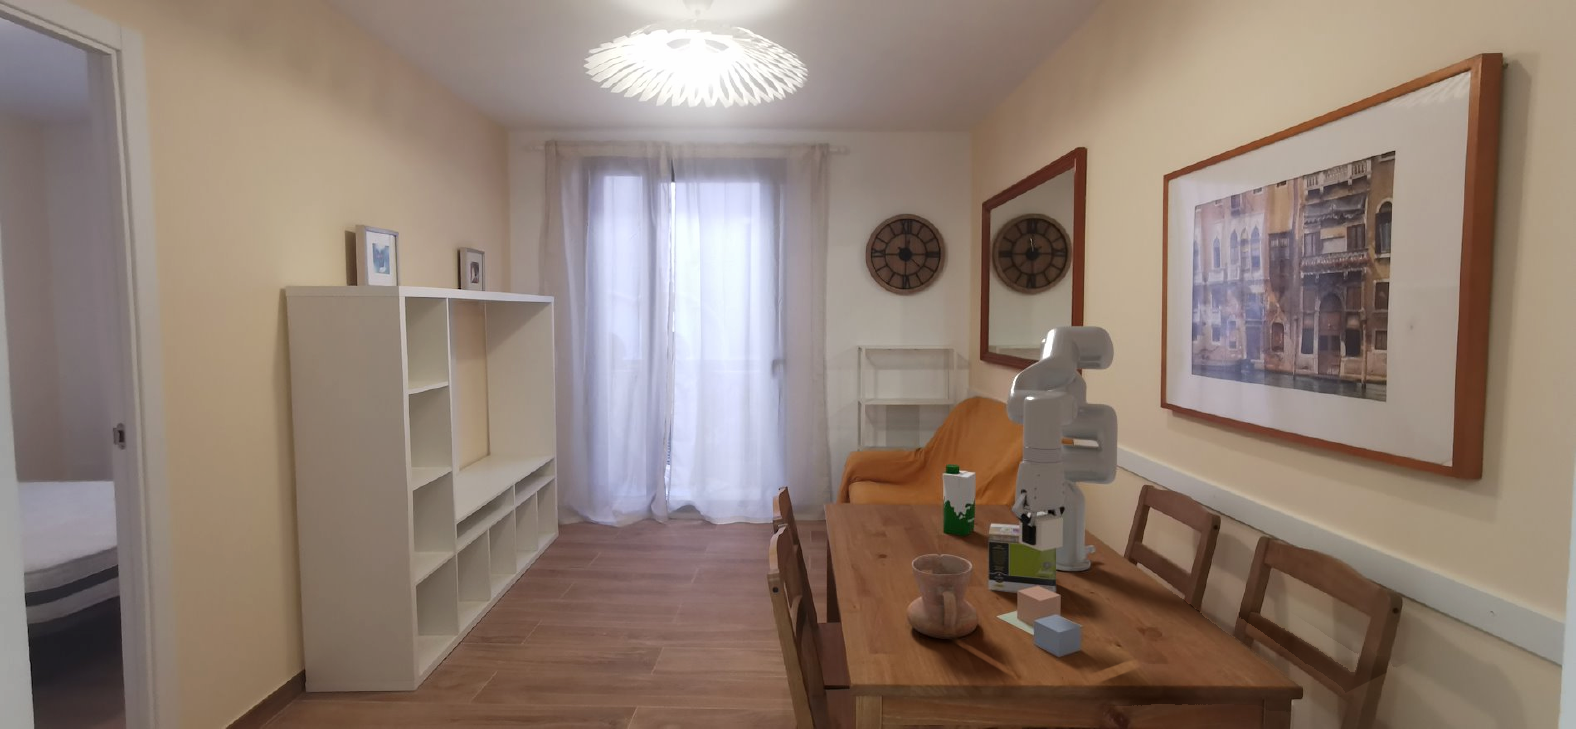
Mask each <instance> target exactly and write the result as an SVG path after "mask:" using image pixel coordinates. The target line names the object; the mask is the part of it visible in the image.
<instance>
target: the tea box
mask: <svg viewBox="0 0 1576 729" xmlns="http://www.w3.org/2000/svg"><path fill="white" fill-rule="evenodd" d="M987 572H988V590H990V591H999V592H1007V593H1013V594H1014V593H1016V594H1018V591H1019V590H1023V589H1027V588H1031V587H1035V586H1040V587H1042V588H1045V589H1047V590H1049V591H1052V592H1054V593H1057V569H1056V548H1053V549H1049V550H1044V551H1040V550H1037V549H1035V548H1032V547H1029V546H1026V545H1024V544H1021V543H1019V524H1010V523H1009V524H1007V523H994V522H993V523H992V522H991V523H990V526H989V530H988V571H987Z"/></svg>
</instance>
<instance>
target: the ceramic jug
mask: <svg viewBox="0 0 1576 729" xmlns="http://www.w3.org/2000/svg"><path fill="white" fill-rule="evenodd" d="M911 569H912V572H913V573H912V574H913V577H914V580H915V583H916V586H917V588H918V591H919V593H920V595H921V596H919V597H917V598H915V599H914V600H913V601H911V602H910V604H908V607H907V609H906V618H907V621H908V623H909V625H910V627H912V628H913V629H914V630H916V631H917V632H919V633H921V634H922V635H925V636H928V637H931V638H935V639H942V640H943V639H944V640H949V639H950V640H951V639H959V638H962V637H965V636H968V635H970V634H971V633H973V631H975V629H977V628H976V627H977V625H978V622H979V615H978V613H977V610H976V608H975V607H974V606H973V605H972V604H971V603H970V602H969V601H967V600H966V599H964V597H965V595H966V592H967V590H968V587H969V584H970V582H971V579H972V578H971V577H972V572H973V565H972V563H971V561H969V560H968V559H965V558H962V557H960V556H957V555H953V554H943V553H942V554H941V555H939V554H937V553H933V554H931V553H930V554H924V555H920V556H918V557H916V558H915V559H913V560H912V562H911ZM925 570H926V571H927V570H928V571H931V572H929V573H928V572H924V571H925Z"/></svg>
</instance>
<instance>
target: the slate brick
mask: <svg viewBox="0 0 1576 729" xmlns="http://www.w3.org/2000/svg"><path fill="white" fill-rule="evenodd" d="M1069 620H1070V619H1068V620H1067V618H1066V619H1065V617H1063V616H1061V615H1060V616H1058V615H1056V614H1055V615H1052V616H1048V617H1045V618H1041V619H1038V620H1034V635H1033V645H1034V646H1036V647H1039V648H1040V649H1042V650H1044V651H1046V652H1048V653H1049V654H1051V655H1053V656H1056V657H1057V658H1060V657H1064V656H1066V655H1070V654H1073V653H1075V652H1076V653H1077V652H1079V651H1081V650H1082V627H1081V626H1082V625H1081V624H1079V625H1078V623H1077V624H1076V622H1074V621H1071V620H1070V621H1069ZM1080 625H1081V626H1080Z"/></svg>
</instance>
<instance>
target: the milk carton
mask: <svg viewBox="0 0 1576 729" xmlns="http://www.w3.org/2000/svg"><path fill="white" fill-rule="evenodd" d="M942 486H943V487H942V489H943V490H942V491H943V492H942V493H943V496H942V497H943V504H942V505H943V506H942V508H943V509H942V510H943V511H942V514H943V515H942V516H943V518H942V524H943V525H942V527H943V529H942V530H943V531H942V532H943V533H945V534H950V535H956V536H963V537H967V536H968V535H970V534H971V533H973V531H974V530H975V520H976V472H974V471H973V472H972V471H967V470H960V465H958V464H946V465H945V472H943V473H942Z"/></svg>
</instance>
